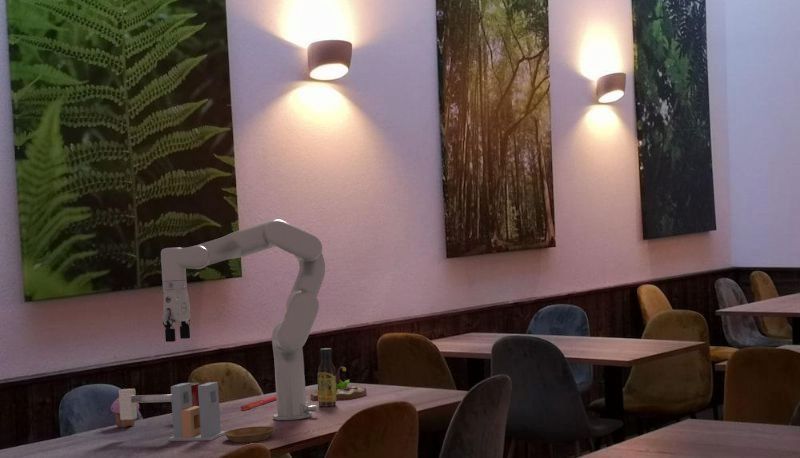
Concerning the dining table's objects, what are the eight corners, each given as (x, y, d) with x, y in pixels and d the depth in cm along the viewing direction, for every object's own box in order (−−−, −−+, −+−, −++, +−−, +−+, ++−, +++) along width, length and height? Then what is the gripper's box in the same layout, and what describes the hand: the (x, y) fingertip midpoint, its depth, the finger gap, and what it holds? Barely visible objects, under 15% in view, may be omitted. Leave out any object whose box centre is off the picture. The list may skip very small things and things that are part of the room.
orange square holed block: (204, 432, 331) (202, 406, 331) (191, 437, 323) (189, 410, 323) (195, 432, 332) (194, 406, 332) (182, 437, 324) (181, 410, 324)
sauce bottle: (315, 407, 373) (311, 349, 373) (323, 404, 379) (319, 347, 379) (332, 407, 371) (329, 349, 371) (340, 404, 376) (336, 347, 377)
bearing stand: (225, 434, 330) (222, 381, 330) (211, 440, 320) (208, 386, 320) (184, 434, 334) (181, 382, 334) (168, 440, 324) (165, 387, 324)
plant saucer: (232, 446, 309) (231, 437, 309) (219, 439, 323) (218, 430, 323) (281, 439, 315) (281, 430, 315) (266, 433, 329) (266, 424, 329)
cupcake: (131, 423, 363) (129, 393, 364) (145, 425, 357) (143, 395, 357) (107, 427, 357) (105, 397, 357) (121, 429, 351) (119, 399, 351)
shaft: (186, 416, 329) (185, 387, 330) (182, 418, 327) (180, 388, 327) (125, 418, 335) (123, 388, 335) (120, 419, 332) (118, 390, 333)
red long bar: (237, 413, 378) (248, 409, 376) (235, 407, 378) (246, 403, 377) (271, 402, 400) (281, 398, 399) (269, 397, 401) (279, 393, 399)
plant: (356, 401, 385) (355, 369, 385) (304, 402, 390) (303, 371, 390) (372, 392, 404) (370, 362, 404) (322, 393, 409) (321, 364, 409)
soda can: (198, 420, 360) (195, 384, 360) (179, 421, 361) (176, 385, 361) (205, 417, 366) (203, 381, 366) (187, 418, 368) (184, 382, 368)
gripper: (172, 287, 336) (175, 342, 336) (197, 284, 353) (201, 336, 352) (150, 288, 338) (154, 343, 338) (177, 285, 355) (180, 337, 354)
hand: (178, 339), depth 345 cm, fingers open, 9 cm apart
